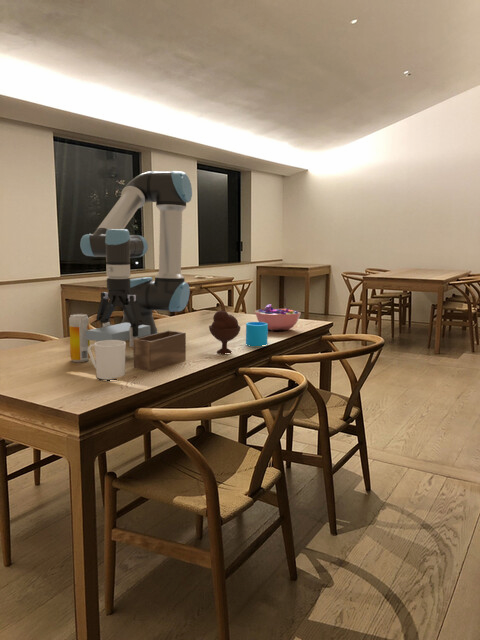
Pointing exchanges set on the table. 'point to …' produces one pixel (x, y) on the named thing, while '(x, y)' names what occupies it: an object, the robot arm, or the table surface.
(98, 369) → the mug
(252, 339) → the mug
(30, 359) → the table surface
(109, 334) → the lid
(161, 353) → the box
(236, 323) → the ice cream bowl
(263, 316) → the cell model
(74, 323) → the beer can
